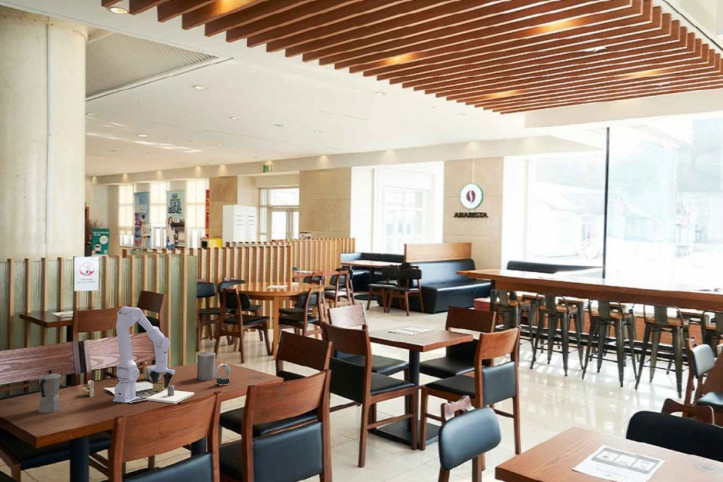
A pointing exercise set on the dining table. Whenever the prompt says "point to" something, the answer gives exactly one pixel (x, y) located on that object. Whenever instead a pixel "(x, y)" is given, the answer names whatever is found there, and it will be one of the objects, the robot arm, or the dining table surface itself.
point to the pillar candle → (206, 365)
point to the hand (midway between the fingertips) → (161, 387)
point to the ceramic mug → (146, 373)
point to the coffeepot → (49, 392)
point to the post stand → (170, 395)
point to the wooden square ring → (159, 386)
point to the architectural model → (90, 388)
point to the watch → (223, 379)
